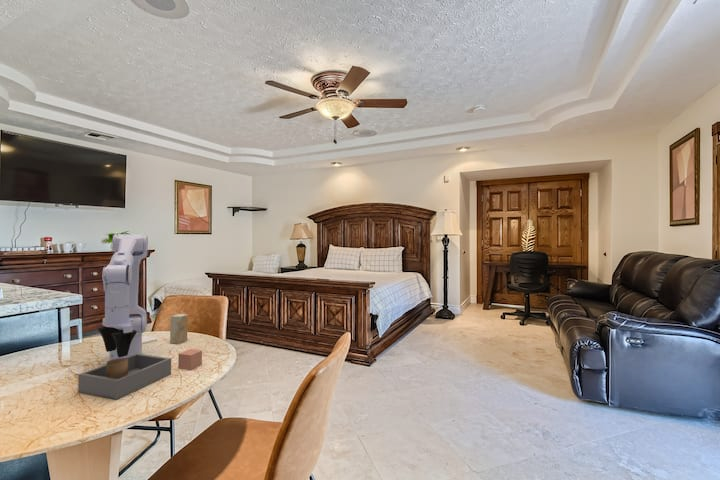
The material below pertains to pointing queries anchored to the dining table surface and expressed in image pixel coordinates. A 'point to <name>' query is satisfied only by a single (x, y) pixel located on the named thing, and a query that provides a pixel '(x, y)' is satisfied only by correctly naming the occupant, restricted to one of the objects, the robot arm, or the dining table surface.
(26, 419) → the dining table surface
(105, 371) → the tote
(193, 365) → the cube
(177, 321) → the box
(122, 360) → the walnut cylinder
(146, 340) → the external hard drive
